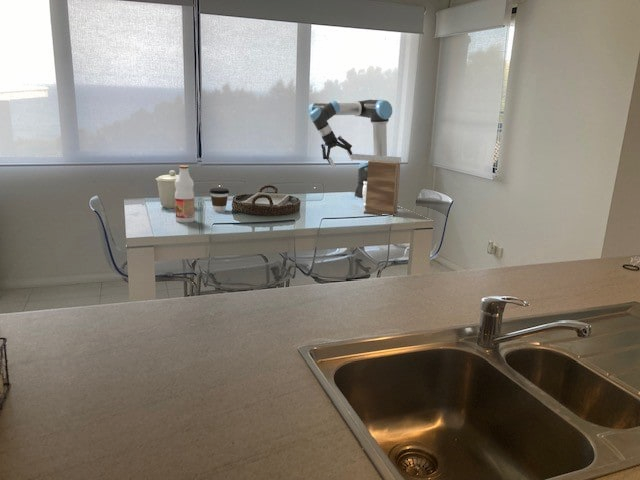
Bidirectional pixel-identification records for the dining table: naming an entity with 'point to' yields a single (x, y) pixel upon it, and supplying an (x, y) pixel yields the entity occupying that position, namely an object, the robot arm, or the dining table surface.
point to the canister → (167, 189)
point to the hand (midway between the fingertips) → (343, 163)
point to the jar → (364, 192)
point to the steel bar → (376, 158)
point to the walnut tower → (382, 188)
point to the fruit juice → (184, 196)
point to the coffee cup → (219, 198)
